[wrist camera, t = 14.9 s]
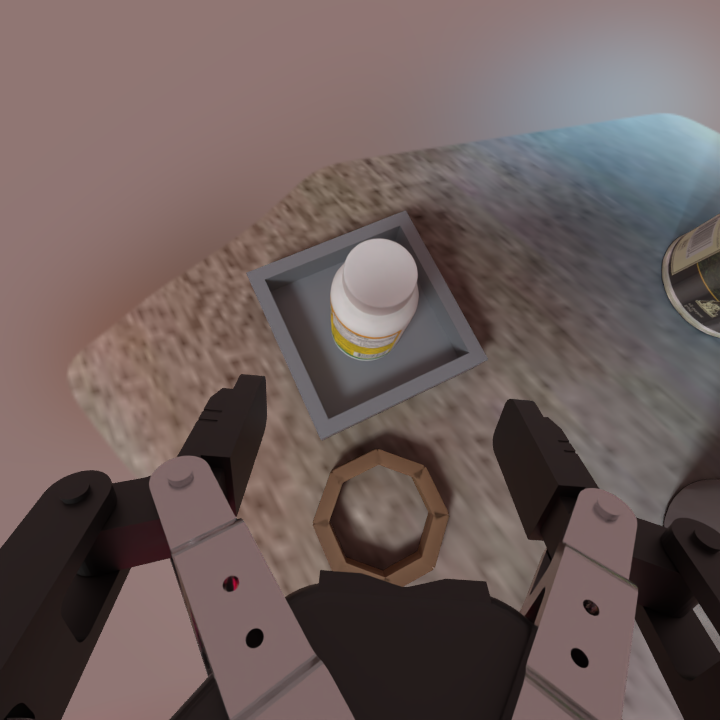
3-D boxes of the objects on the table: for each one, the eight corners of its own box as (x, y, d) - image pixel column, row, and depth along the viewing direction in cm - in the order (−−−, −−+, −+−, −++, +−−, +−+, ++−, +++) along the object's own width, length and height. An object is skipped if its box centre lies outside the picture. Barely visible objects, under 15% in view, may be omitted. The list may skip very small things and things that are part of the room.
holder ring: (405, 433, 29) (409, 432, 27) (459, 544, 27) (467, 550, 26) (299, 486, 27) (297, 488, 26) (350, 606, 26) (351, 615, 24)
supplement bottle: (367, 376, 29) (383, 341, 19) (315, 328, 29) (307, 272, 20) (414, 327, 30) (450, 271, 20) (363, 282, 30) (377, 208, 21)
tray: (399, 231, 32) (405, 210, 30) (473, 368, 30) (488, 359, 27) (254, 289, 30) (246, 273, 28) (322, 440, 28) (320, 439, 25)
